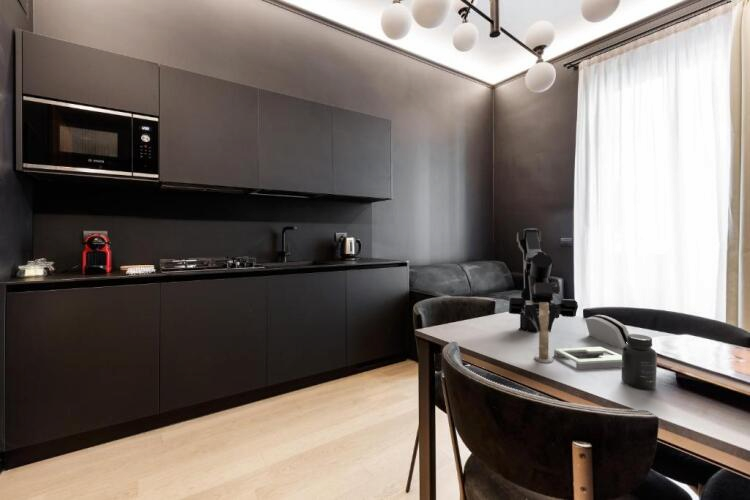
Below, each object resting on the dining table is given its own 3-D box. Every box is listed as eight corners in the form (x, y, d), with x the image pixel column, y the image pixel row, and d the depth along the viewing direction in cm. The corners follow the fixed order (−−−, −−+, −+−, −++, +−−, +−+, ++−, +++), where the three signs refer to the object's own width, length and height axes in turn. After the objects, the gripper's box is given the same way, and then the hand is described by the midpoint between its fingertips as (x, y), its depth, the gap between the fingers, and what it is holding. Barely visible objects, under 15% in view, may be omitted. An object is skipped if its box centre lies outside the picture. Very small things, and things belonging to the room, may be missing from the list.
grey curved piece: (639, 349, 111) (629, 320, 110) (625, 354, 111) (615, 325, 110) (602, 334, 128) (593, 309, 127) (590, 339, 128) (581, 314, 127)
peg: (532, 360, 102) (532, 303, 102) (536, 355, 106) (536, 300, 106) (551, 364, 99) (551, 305, 99) (554, 359, 103) (555, 302, 103)
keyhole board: (579, 369, 95) (579, 361, 95) (554, 355, 106) (554, 348, 106) (630, 366, 97) (630, 359, 97) (600, 353, 108) (600, 346, 108)
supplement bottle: (614, 379, 88) (615, 333, 88) (639, 378, 89) (640, 332, 88) (637, 391, 82) (638, 341, 81) (664, 390, 82) (665, 340, 82)
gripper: (509, 271, 108) (511, 314, 98) (576, 272, 103) (586, 318, 93) (507, 292, 116) (509, 334, 106) (570, 294, 111) (578, 339, 100)
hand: (544, 331), depth 101 cm, fingers closed on peg, 2 cm apart
